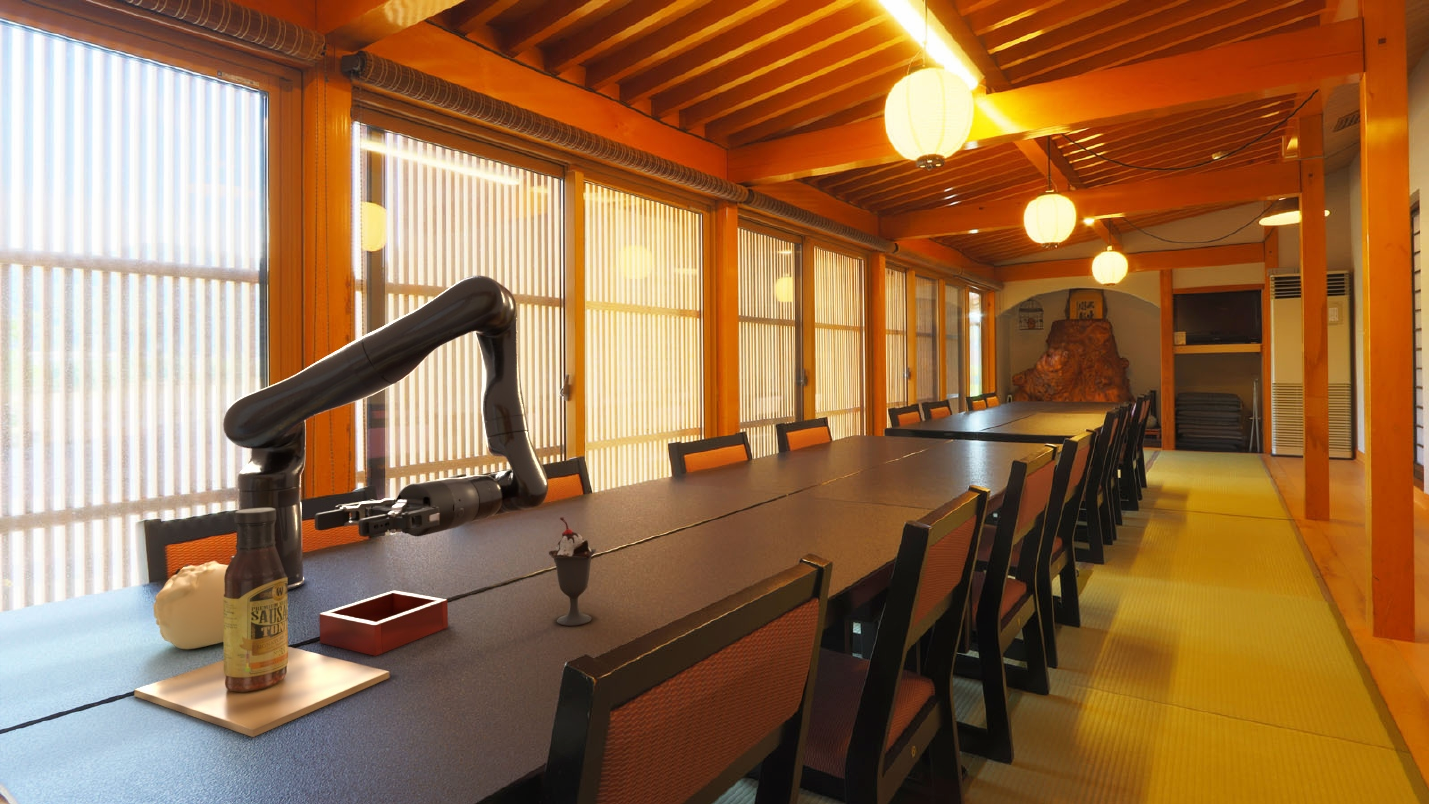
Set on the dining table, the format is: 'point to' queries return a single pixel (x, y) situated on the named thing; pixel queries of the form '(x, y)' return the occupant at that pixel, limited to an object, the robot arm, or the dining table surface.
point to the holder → (383, 622)
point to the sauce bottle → (255, 606)
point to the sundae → (572, 573)
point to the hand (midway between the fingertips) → (338, 525)
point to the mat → (262, 692)
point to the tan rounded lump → (192, 606)
